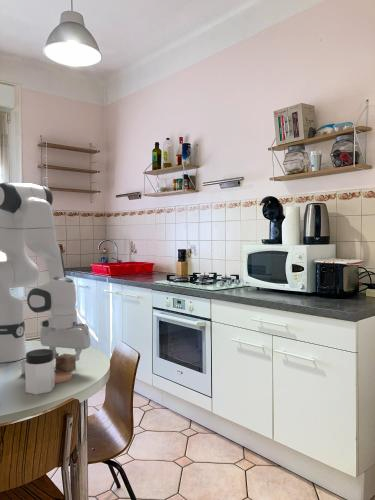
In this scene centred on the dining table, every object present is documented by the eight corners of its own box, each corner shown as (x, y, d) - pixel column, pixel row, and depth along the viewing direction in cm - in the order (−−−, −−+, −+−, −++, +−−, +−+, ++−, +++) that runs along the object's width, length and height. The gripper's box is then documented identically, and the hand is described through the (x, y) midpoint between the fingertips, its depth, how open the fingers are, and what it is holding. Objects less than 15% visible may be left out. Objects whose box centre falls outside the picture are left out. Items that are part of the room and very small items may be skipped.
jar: (49, 394, 126) (48, 356, 126) (22, 395, 126) (21, 356, 126) (57, 384, 135) (56, 348, 135) (32, 384, 135) (31, 348, 134)
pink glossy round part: (38, 381, 138) (38, 378, 138) (56, 372, 146) (56, 370, 146) (60, 384, 135) (60, 382, 135) (77, 375, 143) (77, 373, 143)
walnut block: (55, 370, 149) (55, 357, 149) (64, 366, 154) (64, 353, 154) (66, 372, 147) (66, 358, 147) (75, 368, 152) (75, 354, 152)
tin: (18, 375, 144) (18, 362, 144) (28, 371, 149) (28, 358, 148) (29, 377, 142) (28, 364, 142) (38, 372, 147) (38, 360, 147)
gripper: (93, 321, 148) (94, 359, 148) (48, 318, 156) (50, 354, 156) (82, 324, 142) (83, 364, 142) (36, 321, 150) (38, 359, 150)
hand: (65, 359), depth 149 cm, fingers open, 8 cm apart
